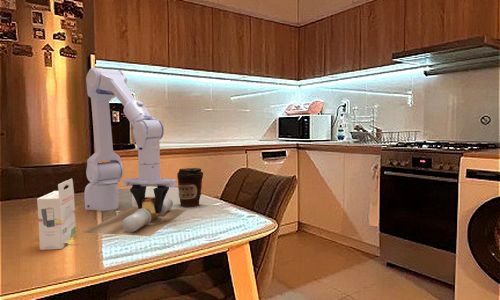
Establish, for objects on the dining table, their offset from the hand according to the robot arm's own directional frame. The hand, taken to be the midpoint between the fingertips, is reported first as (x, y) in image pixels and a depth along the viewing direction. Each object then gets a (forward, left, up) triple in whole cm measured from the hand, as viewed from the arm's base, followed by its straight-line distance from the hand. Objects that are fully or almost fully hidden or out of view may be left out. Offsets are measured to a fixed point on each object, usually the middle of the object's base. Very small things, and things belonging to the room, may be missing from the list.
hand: (150, 212), depth 101 cm
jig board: (-3, 0, -3) cm, 4 cm away
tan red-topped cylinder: (0, 0, -2) cm, 2 cm away
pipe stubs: (0, 0, -3) cm, 3 cm away
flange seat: (0, 0, -2) cm, 2 cm away
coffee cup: (+5, +19, -3) cm, 20 cm away
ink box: (-14, -19, -3) cm, 24 cm away
